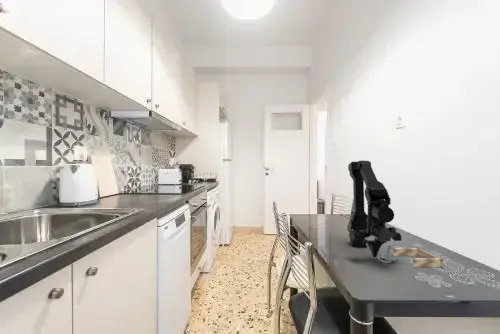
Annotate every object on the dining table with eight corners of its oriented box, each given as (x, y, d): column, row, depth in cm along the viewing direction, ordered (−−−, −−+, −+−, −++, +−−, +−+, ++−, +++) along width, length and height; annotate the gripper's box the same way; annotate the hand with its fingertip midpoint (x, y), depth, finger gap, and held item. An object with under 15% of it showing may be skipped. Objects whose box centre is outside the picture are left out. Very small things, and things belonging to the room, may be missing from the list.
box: (414, 267, 104) (414, 259, 104) (393, 255, 118) (393, 248, 118) (442, 267, 105) (442, 259, 105) (417, 255, 119) (418, 248, 119)
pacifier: (380, 264, 108) (397, 264, 107) (380, 247, 108) (397, 248, 107) (375, 257, 115) (390, 258, 114) (375, 242, 115) (390, 243, 114)
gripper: (361, 221, 102) (360, 264, 102) (411, 222, 103) (409, 264, 103) (348, 215, 113) (348, 254, 113) (393, 216, 114) (392, 254, 114)
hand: (374, 257), depth 111 cm, fingers closed
